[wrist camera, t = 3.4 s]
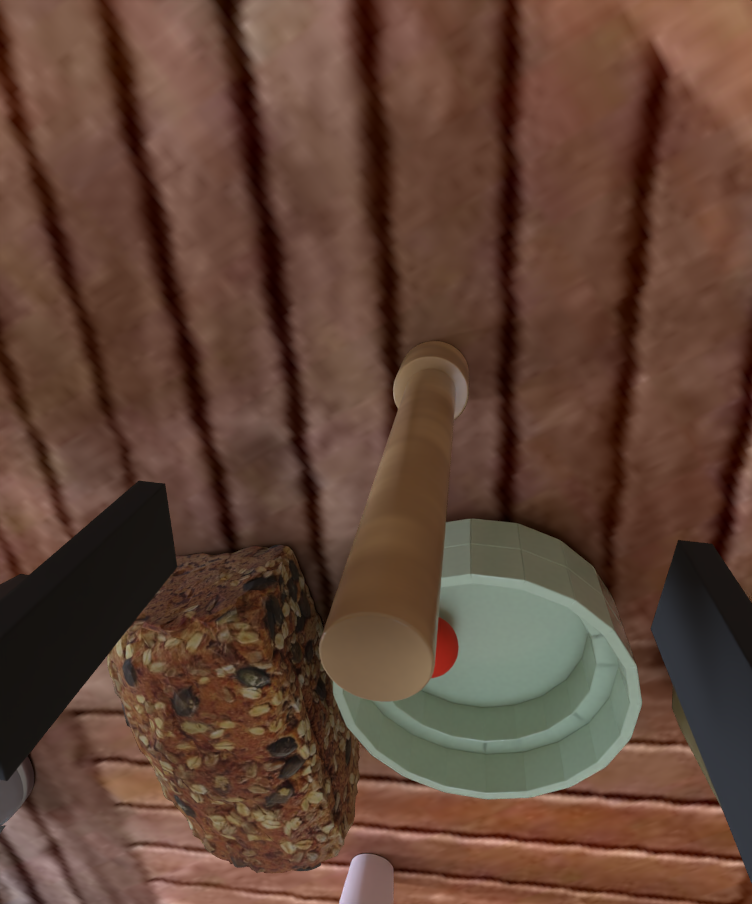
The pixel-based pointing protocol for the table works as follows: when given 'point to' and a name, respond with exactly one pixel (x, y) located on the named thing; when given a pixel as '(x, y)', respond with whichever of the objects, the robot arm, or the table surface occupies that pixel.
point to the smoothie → (369, 881)
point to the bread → (241, 710)
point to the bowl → (512, 673)
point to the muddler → (400, 540)
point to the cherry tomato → (445, 648)
